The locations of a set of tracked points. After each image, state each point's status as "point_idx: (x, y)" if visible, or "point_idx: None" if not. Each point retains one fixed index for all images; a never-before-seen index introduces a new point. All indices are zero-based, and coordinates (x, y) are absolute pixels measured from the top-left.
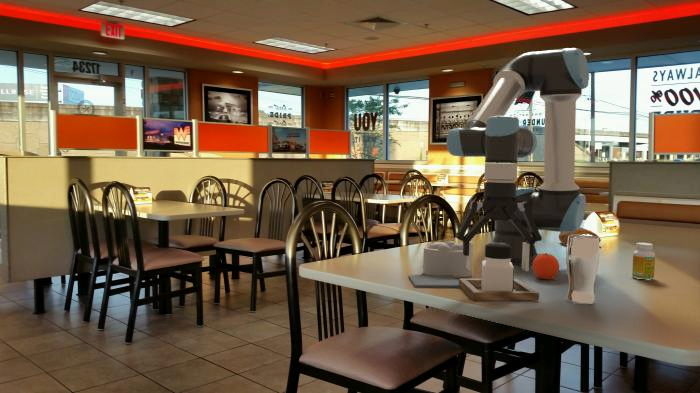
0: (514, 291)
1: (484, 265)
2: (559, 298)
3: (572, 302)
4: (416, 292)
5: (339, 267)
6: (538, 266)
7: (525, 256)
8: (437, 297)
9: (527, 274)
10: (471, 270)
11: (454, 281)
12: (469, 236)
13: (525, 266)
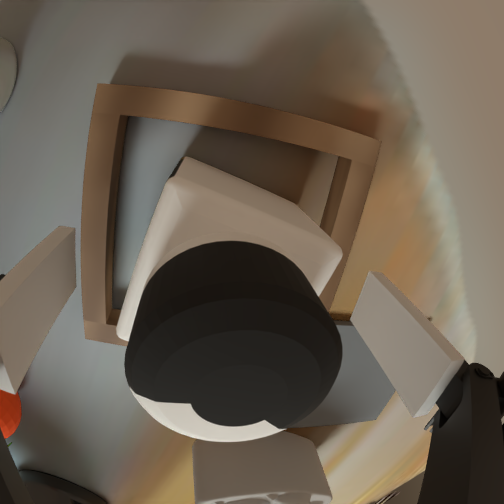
0: (195, 119)
1: (337, 255)
2: (17, 125)
3: (15, 53)
4: (455, 271)
5: (427, 451)
6: (3, 399)
7: (39, 275)
8: (443, 205)
9: (39, 422)
10: (196, 451)
11: None
12: (490, 391)
13: (65, 240)
